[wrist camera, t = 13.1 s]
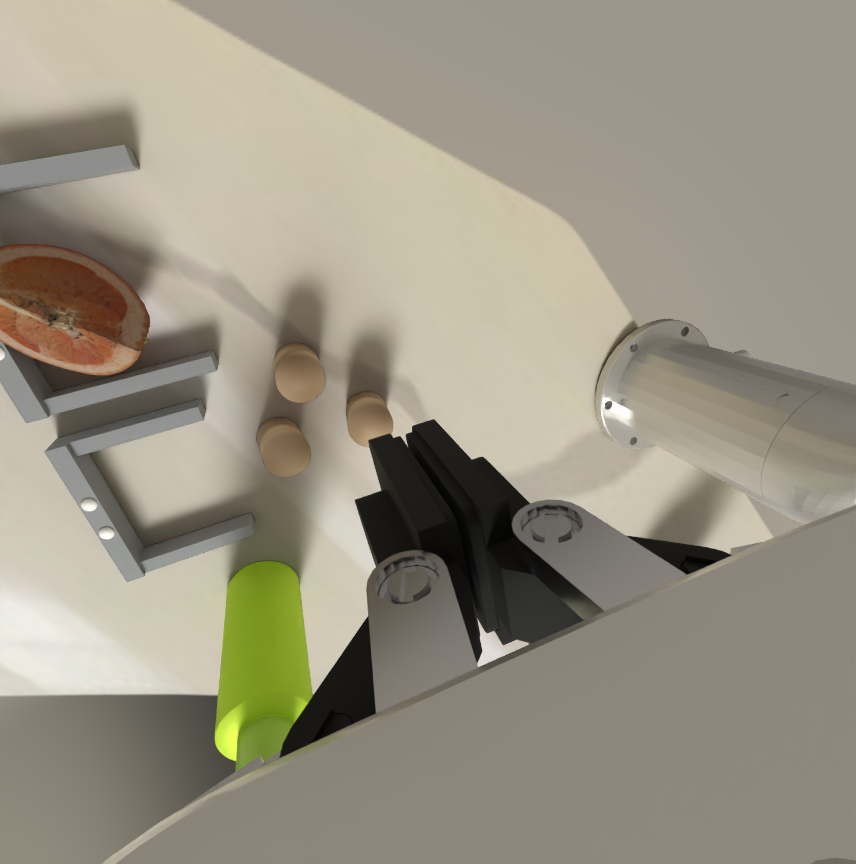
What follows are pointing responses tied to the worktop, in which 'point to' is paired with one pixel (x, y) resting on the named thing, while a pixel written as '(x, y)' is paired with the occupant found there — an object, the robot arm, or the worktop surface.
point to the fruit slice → (69, 310)
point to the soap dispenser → (261, 663)
